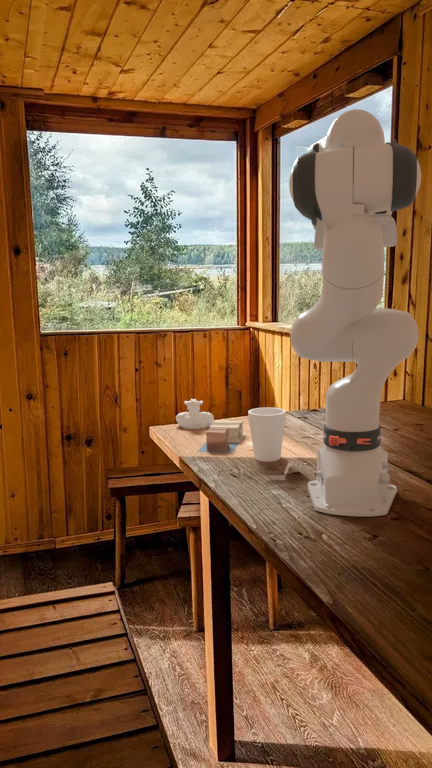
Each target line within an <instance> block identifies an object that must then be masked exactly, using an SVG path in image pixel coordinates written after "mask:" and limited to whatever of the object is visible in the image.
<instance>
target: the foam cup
mask: <svg viewBox="0 0 432 768" xmlns="http://www.w3.org/2000/svg"><path fill="white" fill-rule="evenodd" d="M247 413H248V414H247V417H248V418H247V419H248V423H249V429H250V431H249V432H250V436H251V443H252V449H253V455H254V459H255V460H256V461H259V462H268V463H271V462H276V461H278V460H280V459H282V458H281V457H282V448H283V440H284V432H285V423H286V417H287V416H286V410H285V409H283V408H279V407H256V408H251V409H249V410H248V412H247Z"/></svg>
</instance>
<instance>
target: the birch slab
mask: <svg viewBox="0 0 432 768" xmlns="http://www.w3.org/2000/svg"><path fill="white" fill-rule="evenodd" d="M243 423H244V421H243V420H222V419H221V420H219V419H218V420H217V419H216V420H215V421H213V424H212V425H211V426H210V427H209V429H210V428H229V441H236V442H238V440H239V439H240V438H241V436H242V435H243V434H244V427H243V426H244V424H243Z"/></svg>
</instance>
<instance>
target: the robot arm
mask: <svg viewBox="0 0 432 768" xmlns="http://www.w3.org/2000/svg"><path fill="white" fill-rule="evenodd" d="M385 138H386V137H385V134H384V129H383V127H382V125H381V123H380V121H379V120H378V119H377V118H376V117H375V115H373V114H372V113H370V112H369V111H367V110H364V109H360V108H359V109H358V108H357V109H349V110H348V111H344V112H343V113H341V114H339V116H337V117H336V118H335V119H334V121H333V122H332V123H331V125H330V126H329V128H328V130H327V134H326V136H324V137H322V138H321V139H319V140H318V141H316V142H313V144H310V147H309V149H308V150H307V152H306V153H303V154H302V155H299V156H298V157H297V158H296V159H295V160H294V162H293V165H292V169H291V171H290V175H289V180H288V188H289V194H290V197H291V199H292V201H293V205H294V208H295V209H296V210H297V211H298V212H299V213H300V214H301V216H303V217H305V218H307V219H308V220H310V222H311V225H312V228H313V229H314V230H315V232H314V243H313V244H314V245H313V246H314V248H315V249H316V250H318V251H321V250H322V253H321V255H322V256H321V265H322V266H321V268H322V269H321V270H322V271H321V273H322V288H321V289H322V290H321V296H320V298H319V299H318V301H317V302H316V303H315V304H314V305H313V306H312V307H310V308H309V309H307V310H306V311H303V312H301V313H300V314H298V315H297V317H295V319H294V321H293V323H292V326H291V327H290V328H291V329H290V332H289V333H290V334H289V336H290V337H289V338H290V342H291V343H290V344H291V347H292V349H293V350H294V352H295V353H296V355H298V357H299V358H301V359H307V360H311V361H316V362H322V363H323V362H324V363H325V362H328V363H329V362H334V363H335V362H336V363H338V362H339V363H340V362H341V363H342V362H343V363H345V362H346V363H347V362H348V363H349V362H350V363H351V362H352V363H355V364H356V365H357V366H356V369H355V370H354V371H353V372H351V374H349V375H345V377H343V378H340V379H337V380H336V381H335V382H333V383H332V384H331V385H330V386H329V387H328V389H327V390H326V393H325V424H324V425H323V431H322V437H323V445H322V446H321V447H319V449H317V451H316V454H317V455H316V458H317V459H316V471H315V472H314V477H315V478H316V479H315V480H310V481H308V483H307V490H308V493H309V497H310V498H311V503H312V505H313V507H314V511H316V512H321V513H324V514H329V515H335V516H346V517H380V516H385V515H388V514H389V510H391V509H390V508H391V506H392V504H393V501H394V499H395V497H396V494H397V492H398V488H397V486H396V485H394V484H390V483H391V474H390V473H388V470H389V469H390V463H389V462H388V452H387V451H386V450H385V449H383V448H382V446H381V445H382V427H381V426H380V409H381V408H380V407H381V398H382V393H383V389H384V385H385V383H386V381H387V379H388V377H389V376H390V374H391V372H393V370H394V369H395V368H397V366H398V365H399V364H400V363H401V362H403V361H405V360H406V359H407V358H408V357H410V356H411V355H412V354H413V352H415V349H416V347H417V345H418V341H419V338H420V337H419V335H420V333H419V326H418V324H417V322H416V320H415V319H414V317H413V316H412V314H410V312H408V311H404V310H400V309H399V310H398V309H393V308H387V307H385V308H384V307H383V308H382V307H381V308H380V307H379V308H378V305H379V304H380V302H381V300H382V298H383V294H384V279H385V260H386V259H385V248H390V247H392V248H393V247H395V246H396V245H397V244H398V231H397V224H396V220H395V219H394V217H392V214H393V212H395V211H400V210H404V209H406V208H409V207H410V206H411V205H412V204H413V203H414V202H415V199H416V196H417V194H418V191H419V189H420V186H421V183H422V169H421V165H420V163H419V160H418V157H417V154H416V153H415V152H414V151H413V150H412V149H410V147H408V146H405V145H403V144H399V143H398V141H397V139H395V138H392V141H391V142H388V141H387V142H386V141H385V140H386V139H385Z"/></svg>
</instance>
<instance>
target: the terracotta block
mask: <svg viewBox="0 0 432 768" xmlns="http://www.w3.org/2000/svg"><path fill="white" fill-rule="evenodd" d="M205 434H206V441H207V450H214V451H225V450H226V449H227V448H228V447H229V428H210V427H209V428H208V430H206V432H205Z"/></svg>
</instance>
